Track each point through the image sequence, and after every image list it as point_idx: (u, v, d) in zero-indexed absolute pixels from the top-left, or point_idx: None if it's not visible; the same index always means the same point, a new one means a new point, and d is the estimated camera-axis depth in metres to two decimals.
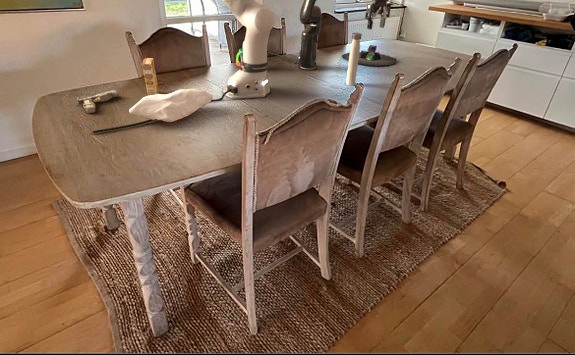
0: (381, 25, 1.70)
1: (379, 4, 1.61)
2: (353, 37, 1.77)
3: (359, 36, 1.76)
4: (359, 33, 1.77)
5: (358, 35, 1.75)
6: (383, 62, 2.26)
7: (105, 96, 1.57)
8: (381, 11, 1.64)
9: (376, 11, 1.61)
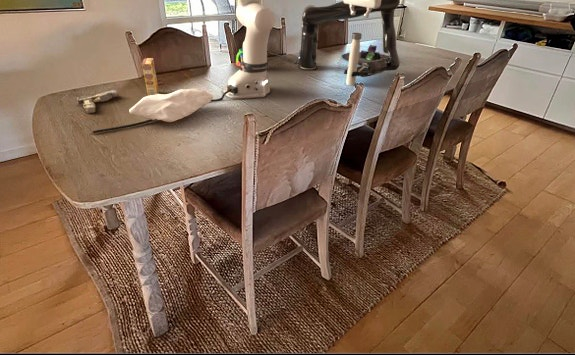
0: (346, 71, 1.88)
1: None
2: (353, 37, 1.77)
3: (359, 36, 1.76)
4: (359, 33, 1.77)
5: (358, 35, 1.75)
6: None
7: (105, 96, 1.57)
8: None
9: (363, 75, 1.89)
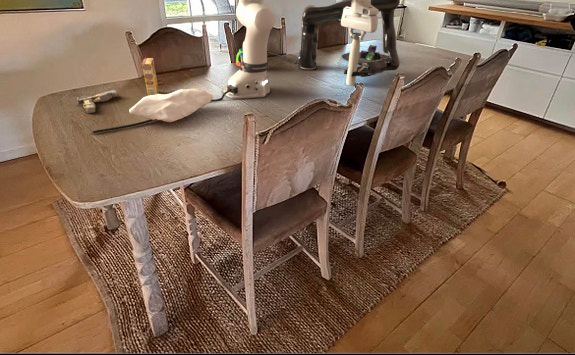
0: (346, 71, 1.88)
1: None
2: (353, 37, 1.77)
3: None
4: (359, 33, 1.77)
5: (358, 35, 1.75)
6: None
7: (105, 96, 1.57)
8: None
9: (363, 75, 1.89)
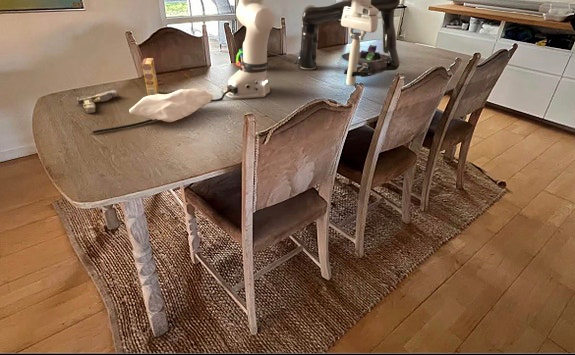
0: (346, 71, 1.88)
1: None
2: None
3: None
4: None
5: None
6: None
7: (105, 96, 1.57)
8: None
9: (363, 75, 1.89)
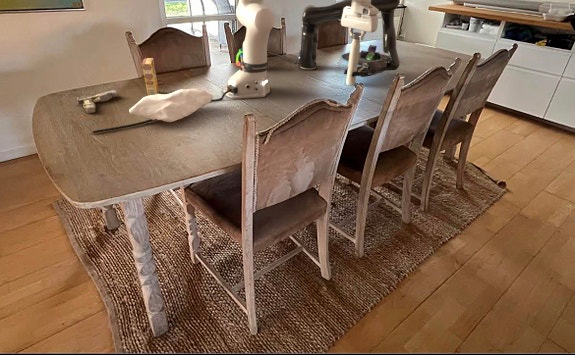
0: (346, 71, 1.88)
1: None
2: None
3: None
4: (354, 32, 1.77)
5: None
6: None
7: (105, 96, 1.57)
8: None
9: (363, 75, 1.89)
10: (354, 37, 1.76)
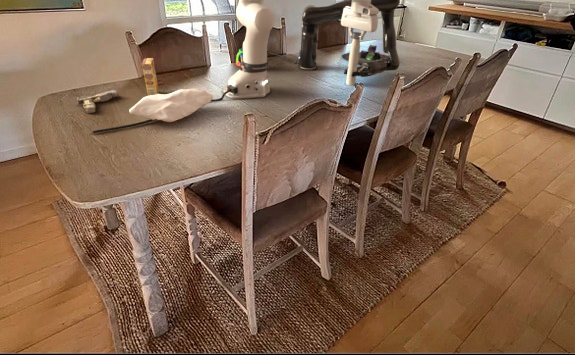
0: (346, 71, 1.88)
1: None
2: None
3: None
4: (355, 33, 1.76)
5: None
6: None
7: (105, 96, 1.57)
8: None
9: (363, 75, 1.89)
10: None
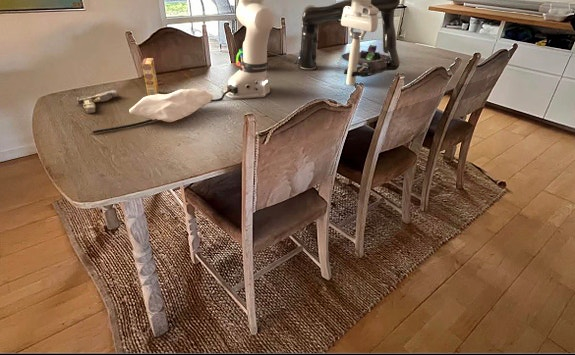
0: (346, 71, 1.88)
1: None
2: None
3: (353, 35, 1.76)
4: (358, 33, 1.76)
5: (353, 33, 1.77)
6: None
7: (105, 96, 1.57)
8: None
9: (363, 75, 1.89)
10: None
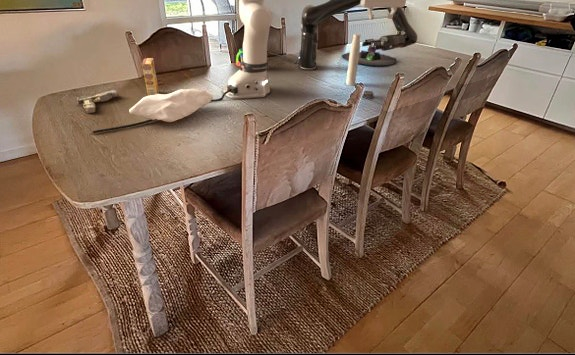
0: (364, 44, 1.89)
1: None
2: (369, 97, 1.73)
3: (372, 94, 1.74)
4: (368, 91, 1.75)
5: (372, 93, 1.73)
6: (383, 62, 2.26)
7: (105, 96, 1.57)
8: None
9: None
10: None
